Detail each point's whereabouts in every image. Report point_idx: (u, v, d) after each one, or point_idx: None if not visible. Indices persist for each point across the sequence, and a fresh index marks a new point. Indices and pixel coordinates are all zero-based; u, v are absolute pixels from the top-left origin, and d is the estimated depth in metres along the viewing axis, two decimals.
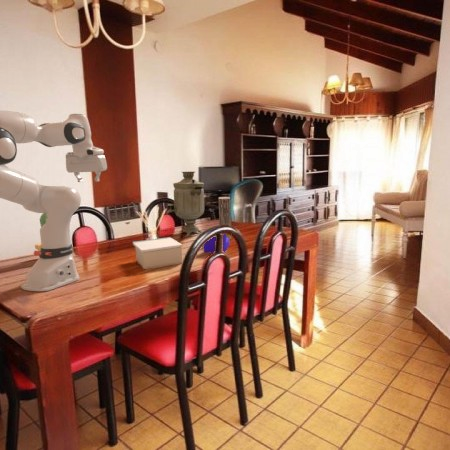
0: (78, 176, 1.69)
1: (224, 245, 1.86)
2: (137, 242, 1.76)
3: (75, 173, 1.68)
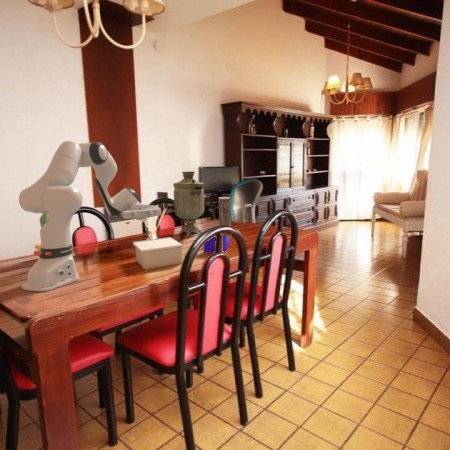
0: None
1: (224, 245, 1.86)
2: (137, 242, 1.76)
3: (134, 213, 1.90)
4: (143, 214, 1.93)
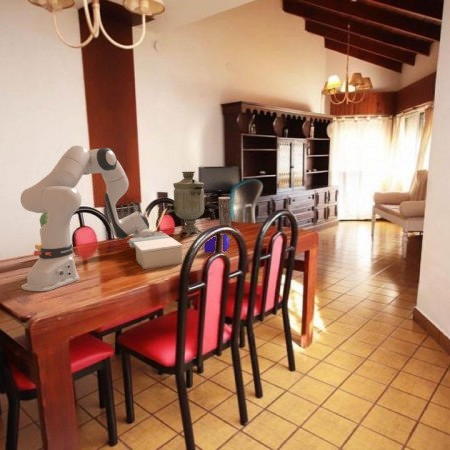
0: None
1: (225, 245, 1.86)
2: (137, 241, 1.76)
3: None
4: None
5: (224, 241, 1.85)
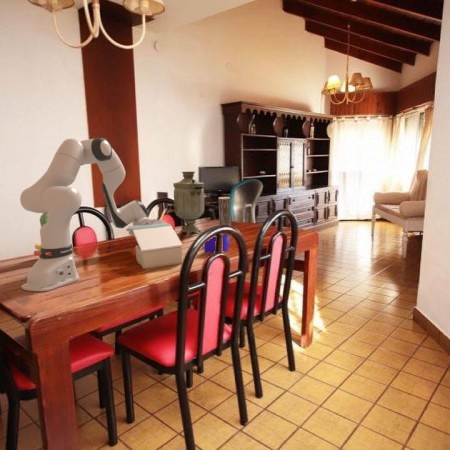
0: None
1: (225, 245, 1.86)
2: (137, 230, 1.74)
3: None
4: None
5: (224, 241, 1.85)
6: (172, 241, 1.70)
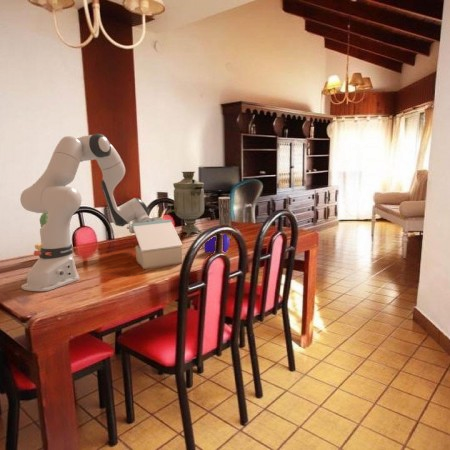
0: None
1: (225, 245, 1.86)
2: (137, 226, 1.72)
3: None
4: None
5: (224, 241, 1.85)
6: (172, 240, 1.69)
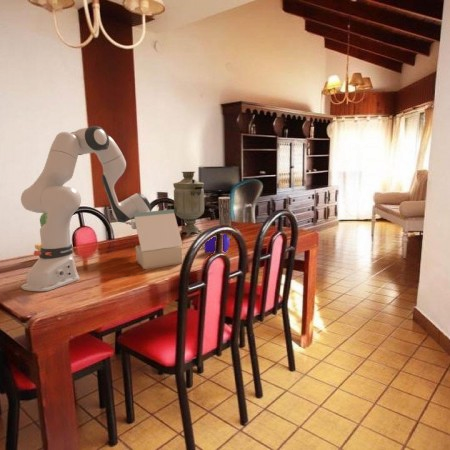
0: None
1: (225, 245, 1.86)
2: (138, 217, 1.67)
3: None
4: None
5: (225, 241, 1.85)
6: (173, 239, 1.68)
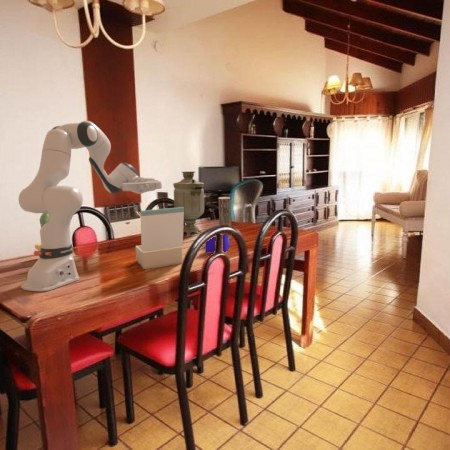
0: None
1: (226, 245, 1.86)
2: (145, 216, 1.55)
3: (139, 184, 1.84)
4: None
5: (225, 241, 1.85)
6: (175, 240, 1.65)
